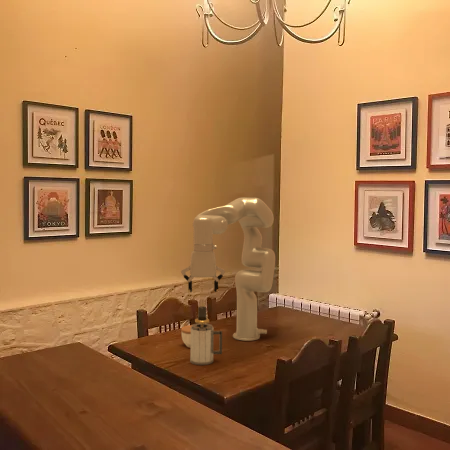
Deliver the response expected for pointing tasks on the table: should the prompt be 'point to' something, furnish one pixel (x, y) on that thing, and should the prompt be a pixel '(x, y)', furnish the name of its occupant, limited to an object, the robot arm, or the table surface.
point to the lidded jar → (186, 335)
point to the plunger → (202, 316)
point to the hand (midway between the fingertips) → (203, 291)
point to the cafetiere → (203, 344)
